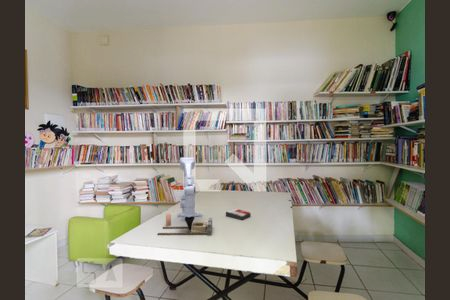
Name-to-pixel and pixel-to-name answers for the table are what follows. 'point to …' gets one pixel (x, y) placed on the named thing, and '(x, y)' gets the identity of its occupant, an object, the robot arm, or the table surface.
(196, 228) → the wooden square frame
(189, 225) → the robot arm
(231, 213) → the hard drive
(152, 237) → the table surface
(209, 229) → the rail board
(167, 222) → the dowel
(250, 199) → the table surface
